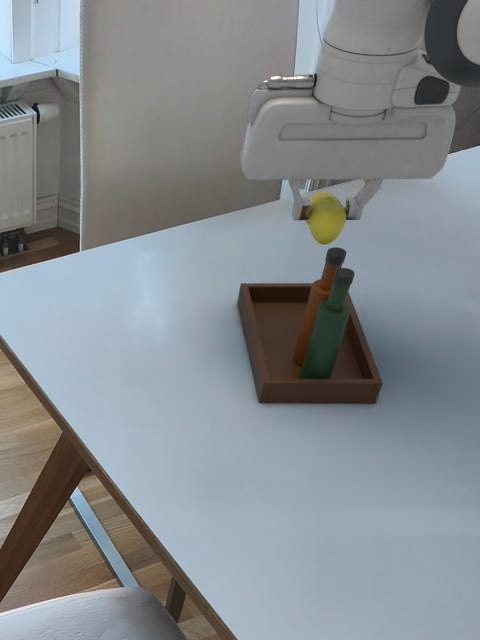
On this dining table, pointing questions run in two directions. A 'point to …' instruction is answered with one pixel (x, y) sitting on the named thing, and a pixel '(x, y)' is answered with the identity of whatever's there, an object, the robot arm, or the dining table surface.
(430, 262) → the dining table surface
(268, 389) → the tray
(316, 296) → the amber bottle
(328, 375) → the green bottle
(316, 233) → the lemon
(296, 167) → the robot arm
